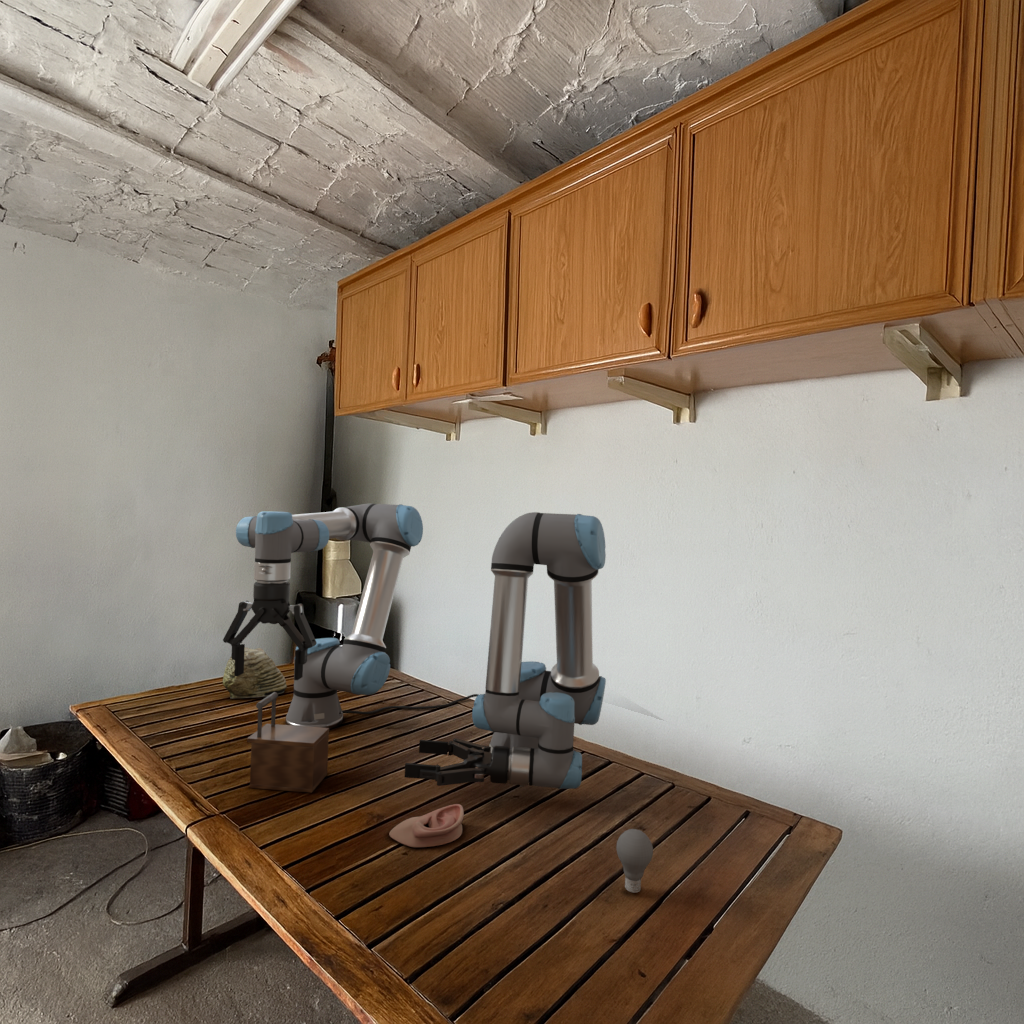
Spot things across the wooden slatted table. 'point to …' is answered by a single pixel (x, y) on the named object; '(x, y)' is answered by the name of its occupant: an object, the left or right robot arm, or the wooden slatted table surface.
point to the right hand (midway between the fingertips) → (412, 757)
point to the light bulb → (634, 857)
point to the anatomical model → (431, 828)
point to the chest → (288, 766)
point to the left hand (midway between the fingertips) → (268, 676)
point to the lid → (284, 730)
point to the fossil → (254, 676)
